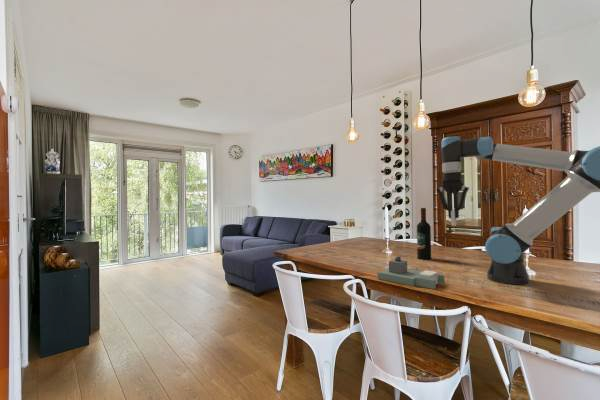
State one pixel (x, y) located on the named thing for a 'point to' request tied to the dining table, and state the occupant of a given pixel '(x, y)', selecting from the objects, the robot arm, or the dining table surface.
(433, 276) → the pale grey block
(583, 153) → the robot arm
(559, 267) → the dining table surface
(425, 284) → the stepped grey base
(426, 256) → the wine bottle
